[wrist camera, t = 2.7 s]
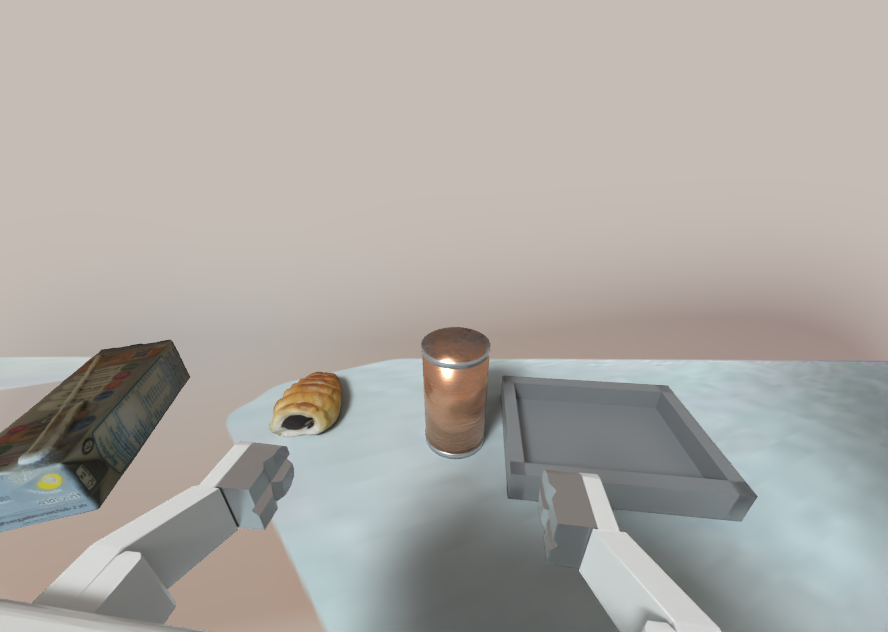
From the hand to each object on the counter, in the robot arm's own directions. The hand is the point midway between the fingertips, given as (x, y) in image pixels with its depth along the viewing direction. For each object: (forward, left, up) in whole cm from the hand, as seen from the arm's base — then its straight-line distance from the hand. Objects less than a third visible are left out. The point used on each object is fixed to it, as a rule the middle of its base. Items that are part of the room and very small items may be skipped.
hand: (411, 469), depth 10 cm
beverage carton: (+35, -14, -17) cm, 42 cm away
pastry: (+16, -19, -17) cm, 31 cm away
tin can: (0, -18, -17) cm, 24 cm away
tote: (-14, -18, -17) cm, 28 cm away
